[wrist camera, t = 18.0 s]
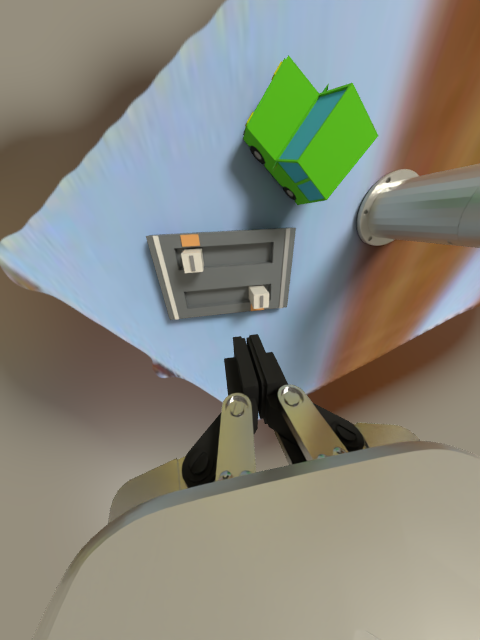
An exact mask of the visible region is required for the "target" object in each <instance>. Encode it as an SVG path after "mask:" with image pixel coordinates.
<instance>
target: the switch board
mask: <svg viewBox="0 0 480 640" xmlns="http://www.w3.org/2000/svg"><path fill="white" fill-rule="evenodd" d="M295 230H296V228H273V229H255V230H236V231H218V232H199V233H181V234H162V235H149V236H146V238H147V242H148V245H149V249H150V252H151V256H152V259H153V263H154V266H155V270H156V273H157V277H158V280H159V283H160V287H161V290H162V294H163V297H164V301H165V304H166V308H167V311H168V315H169V318H170V320H173V319H175V320H177V319H182V318H191V317H200V316H209V315H219V314H228V313H237V312H246V311H256V310H264V309H274V308H283V307H287V302H288V293H289V284H290V275H291V266H292V257H293V248H294V239H295ZM196 248H202V254H203V261H204V270H203V272H194V273H185V271H184V266H183V262H182V257H181V253H182V252H183V251H184V250H185V249H196ZM252 285H263V286H264V287H265V289H266V290H267V291H268V292H269V307H268V308H259V309H254V308H253V306H252V304H251V302H250V300H249V287H248V286H252Z"/></svg>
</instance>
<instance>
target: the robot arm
mask: <svg viewBox="0 0 480 640" xmlns="http://www.w3.org/2000/svg"><path fill="white" fill-rule="evenodd" d="M357 230H358V234H359V236H360V238H361V239H362V240H363V241H364V242H365V243H367V244H369V245H375V246H379V245H384V244H387V243H389V242H392V241H393V240H395V239H398V240H407V241H417V242H427V243H436V244H446V245H456V246H466V247H475V248H480V164H476V165H471V166H466V167H461V168H457V169H452V170H447V171H442V172H437V173H433V174H428V175H423V176H419V175H418V174H417V173H416V172H414V171H412V170H409V169H402V170H397V171H394V172H391V173H389V174H387V175H385V176H384V177H382V178H381V179H380V180H378V181H377V182H376V183H375V184H374V185H373V187H372V188H371V189H370V190H369V192H368V193H367V195H366V196H365V198H364V200H363V202H362V204H361V207H360V210H359V213H358V218H357ZM233 345H234V357H233V358H225V359H224V362H225V371H226V380H227V389H228V397H226V398H225V400H224V401H223V404H222V412H221V413H220V415H219V416H218V417H217V418H216V419H215V421H214V422H213V423H212V424H211V425H210V427H209V428H208V429H207V430H206V431H205V433H204V434H203V435H202V436H201V438H200V439H199V440H198V441H197V442H196V444H195V445H194V446H193V447H192V448H191V450H190V451H189V452H188V453H187V455H186V456H185V457H183V458H180V459H178V460H177V458H176V459H174V460H172V461H169V462H167V463H165V464H163V465H161V466H159V467H157V468H154V469H152V470H150V471H148V472H146V473H144V474H142V475H139V476H137V477H135V478H133V479H131V480H129V481H128V482H126V483H125V484H124V485H123V486H122V487H121V488H120V489H119V490H118V492H117V494H116V495H115V497H114V499H113V502H112V505H111V508H110V515H109V521H108V525H106V526H105V527H104V528H103V529H102V530H100V531H99V532H98V533H97V534H96V535H95V536H94V537H93V538H91V539H90V540H89V542H88V543H87V544H86V545H85V546H84V547H83V548H82V549H81V550H80V551H79V553H78V554H77V555H76V557H75V558H74V560H73V561H72V563H71V564H70V565H69V567H68V569H67V570H66V572H65V574H64V576H63V577H62V579H61V581H60V583H59V585H58V586H57V588H56V590H55V592H54V594H53V596H52V598H51V600H50V602H49V604H48V606H47V608H46V610H45V612H44V614H43V616H42V619H41V621H40V623H39V625H38V627H37V629H36V631H35V634H34V636H33V638H32V640H480V457H479V456H477V455H475V454H473V453H471V452H469V451H466V450H463V449H460V448H457V447H454V446H450V445H446V444H442V443H436V442H430V441H420V440H419V439H418V437H417V436H416V435H415V434H414V433H412V432H411V431H410V430H408V429H406V428H404V427H402V426H398V425H390V424H389V425H388V424H375V423H374V424H373V423H358V422H357V423H356V424H352V423H350V422H349V421H347V420H345V419H343V418H341V417H339V416H337V415H335V414H333V413H331V412H329V411H327V410H326V409H324V408H321V407H320V406H318V405H316V404H314V403H312V402H311V400H310V399H309V398H308V396H307V395H306V394H305V392H304V391H303V390H302V389H301V388H299V387H297V386H295V385H289V384H288V383H287V381H286V379H285V377H284V375H283V373H282V371H281V368H280V366H279V364H278V362H277V360H276V358H275V356H274V354H273V353H272V352H269V353H266V352H265V350H264V347H263V345H262V343H261V340H260V338H259V336H258V334H256V335H250V336H249V338H247V344H246V341H245V338H242V337H241V336H240V337H233ZM258 412H259V416H260V419H262V418H263V419H264V422H265V424H268V425H269V427H270V428H272V429H273V430H274V432H275V435H276V437H277V439H278V442H279V444H280V446H281V448H282V450H283V453H284V455H285V457H286V459H287V461H288V463H289V465H288V466H284V467H279V468H275V469H270V470H265V471H261V472H256V463H255V449H254V434H255V432H256V430H257V424H258Z"/></svg>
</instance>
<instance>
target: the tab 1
mask: <svg viewBox="0 0 480 640" xmlns="http://www.w3.org/2000/svg"><path fill="white" fill-rule="evenodd" d="M181 257H182V262H183V266H184V271H185V273H194V272H203V270H204V261H203V254H202V248H196V249H185V250H184V251H183V252H182V253H181Z"/></svg>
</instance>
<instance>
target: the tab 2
mask: <svg viewBox="0 0 480 640" xmlns="http://www.w3.org/2000/svg"><path fill="white" fill-rule="evenodd" d="M248 287H249V300H250V302H251V304H252V306H253V308H254V309H259V308H268V307H269V292H268V291H267V290H266V289H265V287H264V286H263V285H252V286H248Z"/></svg>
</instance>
